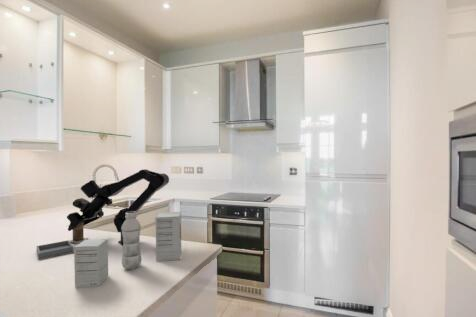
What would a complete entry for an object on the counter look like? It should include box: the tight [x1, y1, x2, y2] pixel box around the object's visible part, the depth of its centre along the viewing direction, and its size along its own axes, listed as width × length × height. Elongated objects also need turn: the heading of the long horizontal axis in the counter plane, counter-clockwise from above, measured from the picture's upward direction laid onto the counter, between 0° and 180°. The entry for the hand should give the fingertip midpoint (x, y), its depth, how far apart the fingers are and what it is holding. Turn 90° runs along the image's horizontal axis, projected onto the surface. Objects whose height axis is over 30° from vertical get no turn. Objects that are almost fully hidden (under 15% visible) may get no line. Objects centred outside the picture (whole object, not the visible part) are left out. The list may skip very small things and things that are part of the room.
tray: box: [36, 239, 74, 260], centre depth 109 cm, size 12×12×2 cm
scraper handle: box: [69, 224, 89, 245], centre depth 122 cm, size 6×6×12 cm
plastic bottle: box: [121, 211, 142, 270], centre depth 92 cm, size 6×7×20 cm
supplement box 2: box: [155, 211, 182, 262], centre depth 103 cm, size 10×9×17 cm
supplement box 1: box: [73, 238, 109, 288], centre depth 82 cm, size 7×7×13 cm
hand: (75, 227), depth 123 cm, fingers open, 8 cm apart
